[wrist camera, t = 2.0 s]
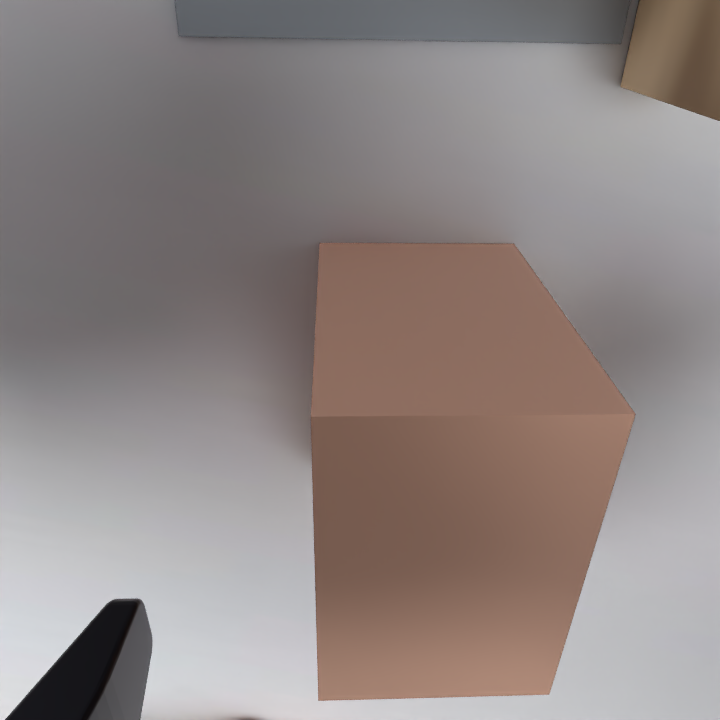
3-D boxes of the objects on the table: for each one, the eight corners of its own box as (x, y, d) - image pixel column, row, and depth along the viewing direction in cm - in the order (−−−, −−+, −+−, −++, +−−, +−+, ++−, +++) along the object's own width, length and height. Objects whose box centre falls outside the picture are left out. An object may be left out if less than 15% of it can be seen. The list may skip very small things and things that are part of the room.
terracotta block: (478, 465, 16) (548, 694, 11) (323, 467, 16) (318, 700, 11) (513, 243, 13) (635, 414, 8) (319, 241, 13) (311, 417, 7)
